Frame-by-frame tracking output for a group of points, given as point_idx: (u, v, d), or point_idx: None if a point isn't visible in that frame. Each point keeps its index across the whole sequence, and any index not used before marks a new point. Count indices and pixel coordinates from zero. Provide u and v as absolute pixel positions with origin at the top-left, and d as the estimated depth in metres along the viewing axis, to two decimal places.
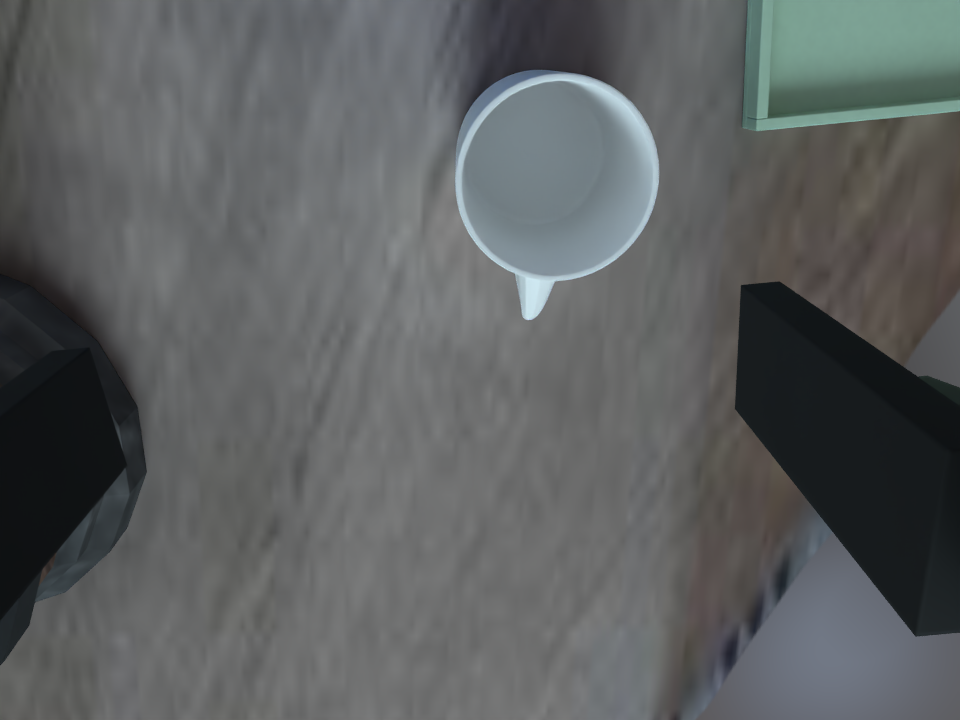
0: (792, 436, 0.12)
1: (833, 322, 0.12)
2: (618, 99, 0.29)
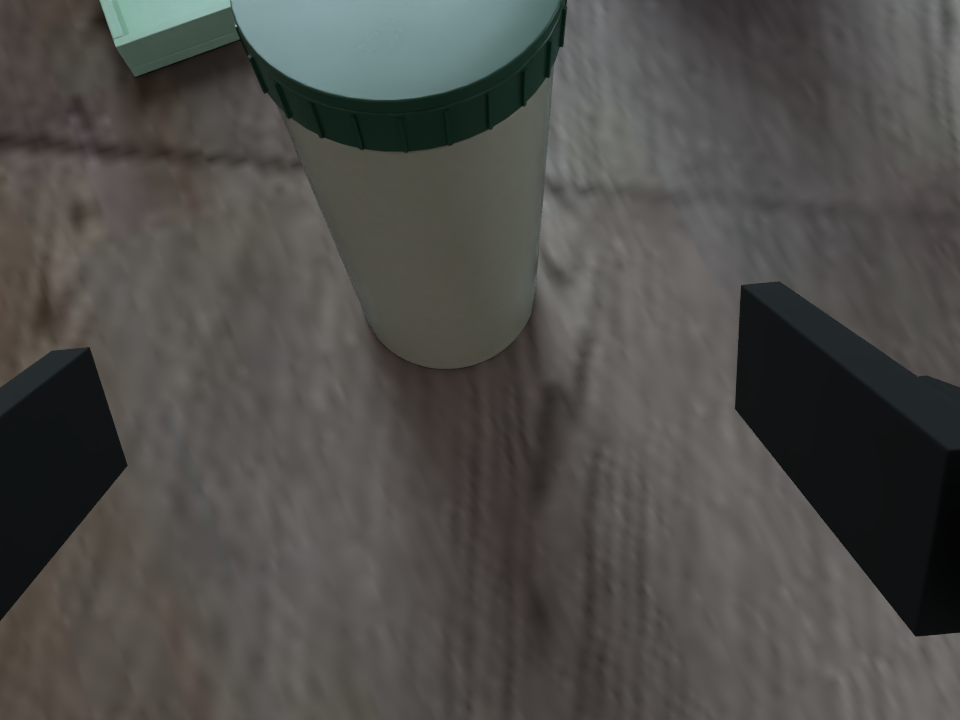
0: (792, 436, 0.12)
1: (833, 322, 0.12)
2: None
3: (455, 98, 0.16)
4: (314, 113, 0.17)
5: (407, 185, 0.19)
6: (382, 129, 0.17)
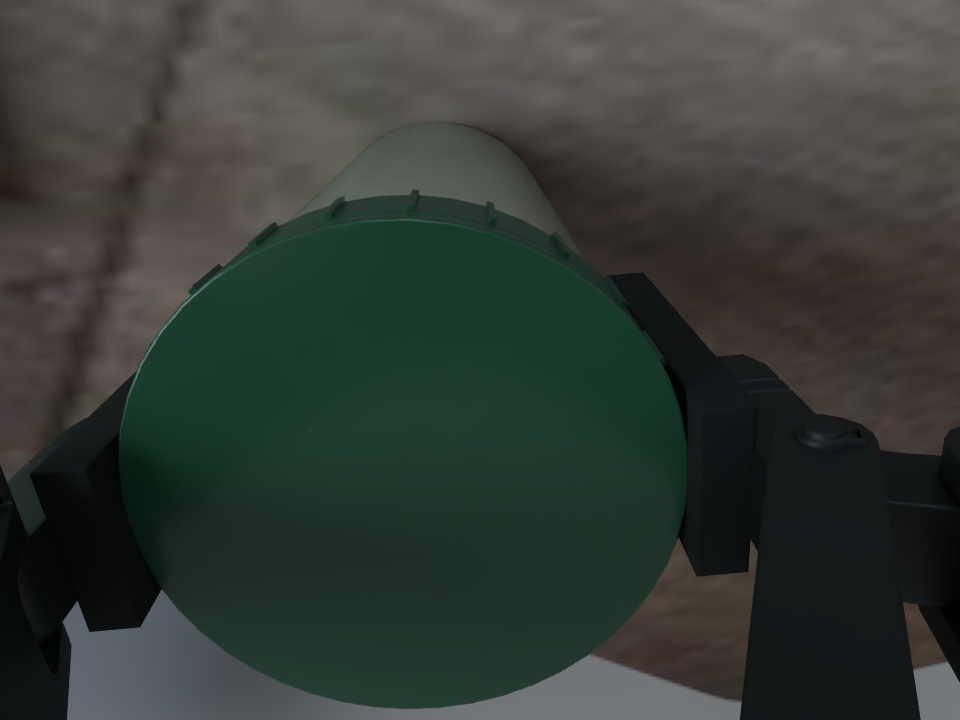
0: None
1: (668, 307, 0.13)
2: None
3: None
4: None
5: None
6: None
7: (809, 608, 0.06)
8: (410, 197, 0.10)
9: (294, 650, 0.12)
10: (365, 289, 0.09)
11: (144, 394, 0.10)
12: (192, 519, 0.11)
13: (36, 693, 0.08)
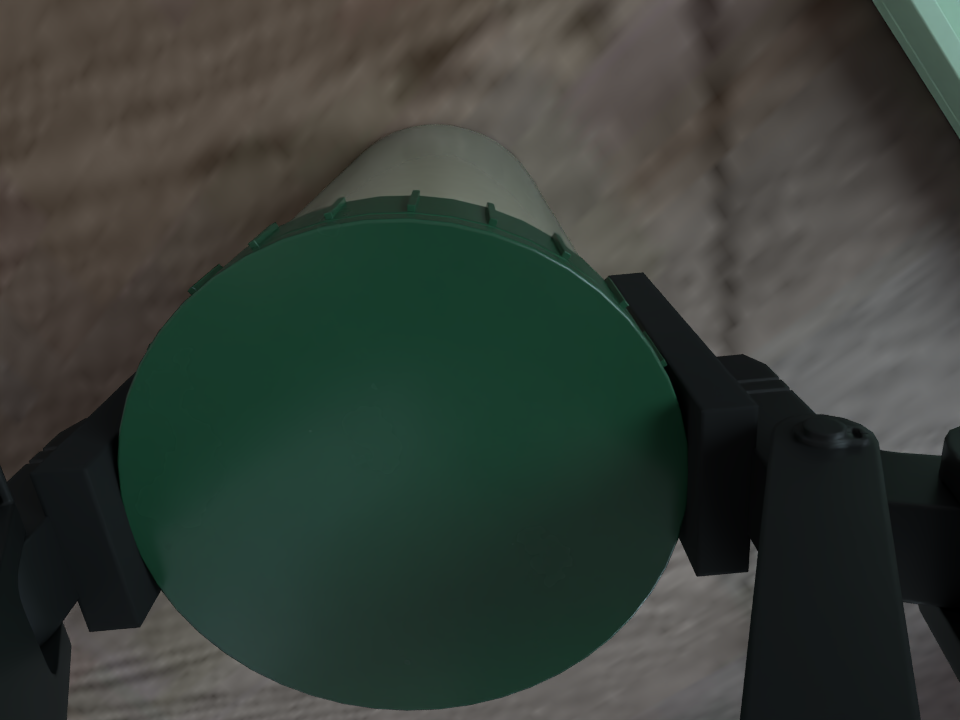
0: None
1: (668, 307, 0.13)
2: None
3: None
4: None
5: None
6: None
7: (808, 608, 0.06)
8: (411, 197, 0.10)
9: (293, 651, 0.12)
10: (365, 289, 0.09)
11: (144, 394, 0.10)
12: (191, 519, 0.11)
13: (35, 693, 0.08)
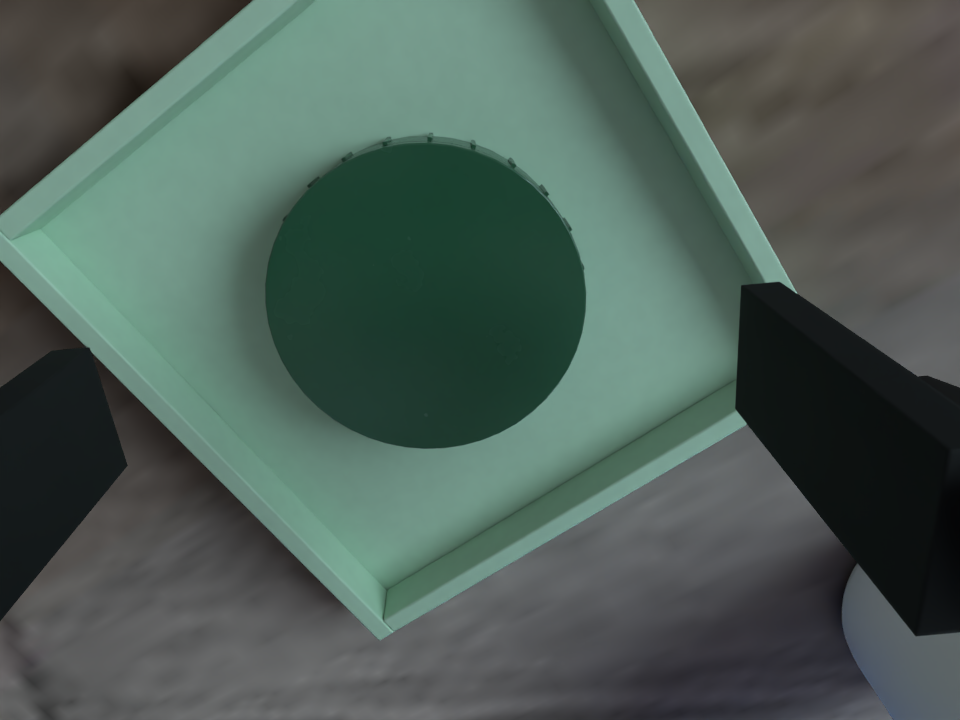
0: (792, 436, 0.12)
1: (833, 322, 0.12)
2: None
3: None
4: None
5: None
6: None
7: None
8: (429, 134, 0.18)
9: (359, 407, 0.20)
10: (405, 182, 0.17)
11: (283, 242, 0.18)
12: (304, 319, 0.19)
13: None
